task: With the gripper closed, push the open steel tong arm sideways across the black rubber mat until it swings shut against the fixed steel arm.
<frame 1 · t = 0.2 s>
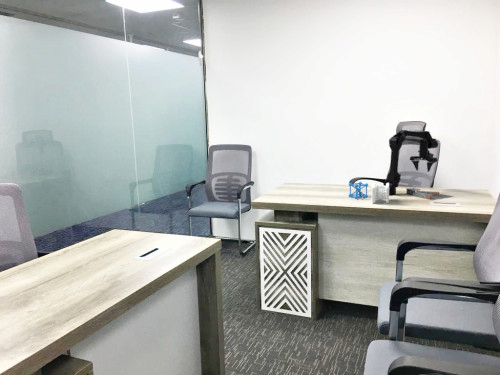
hand: (422, 171, 287), 14 cm above the table, tool pointing down, fingers open, 9 cm apart
desk mat: (427, 196, 273), on the table
molecular structure: (358, 197, 277), on the table
tong arm: (427, 193, 273), point 2 cm above the table, hinge at 35.0°
tong base: (413, 194, 276), resting on desk mat
cable organizer: (380, 202, 260), on the table
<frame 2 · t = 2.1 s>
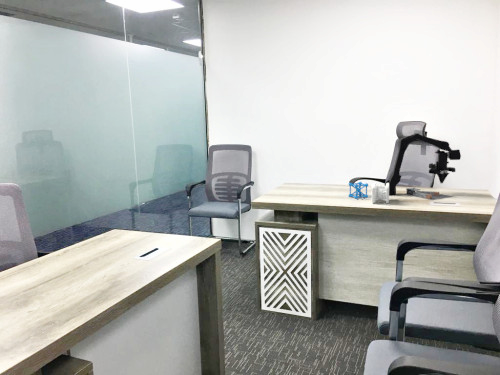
hand: (441, 183, 273), 8 cm above the table, tool pointing down, fingers closed
nothing on the table moved.
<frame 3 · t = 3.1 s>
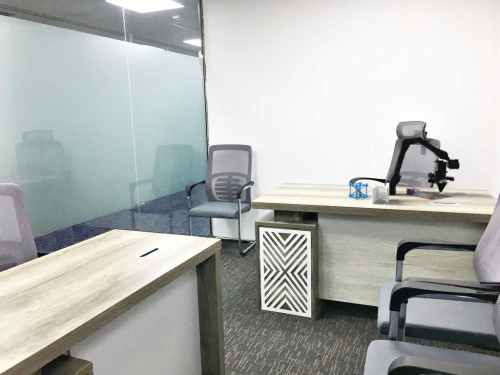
hand: (440, 192, 274), 2 cm above the table, tool pointing down, fingers closed
nothing on the table moved.
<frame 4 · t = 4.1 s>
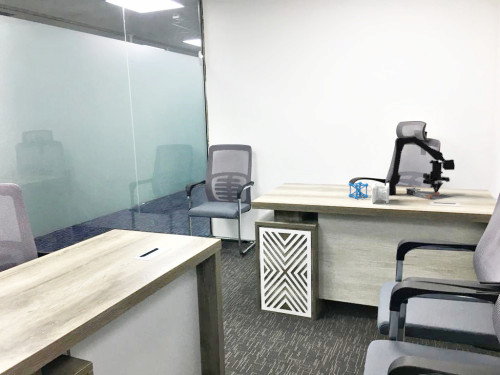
hand: (435, 193, 272), 2 cm above the table, tool pointing down, fingers closed
tong arm: (427, 193, 273), point 2 cm above the table, hinge at 34.3°, touching gripper
everything else where it was.
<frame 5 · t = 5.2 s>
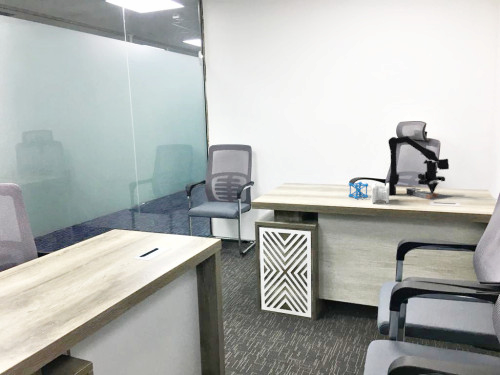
hand: (432, 193, 269), 3 cm above the table, tool pointing down, fingers closed
tong arm: (427, 194, 270), point 2 cm above the table, hinge at 14.5°, touching gripper
everything else where it was.
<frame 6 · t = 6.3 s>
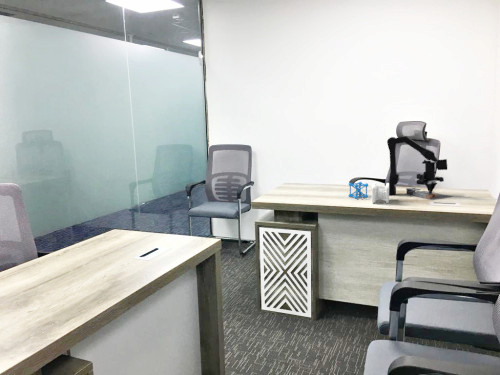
hand: (430, 193, 268), 2 cm above the table, tool pointing down, fingers closed
tong arm: (426, 194, 269), point 2 cm above the table, hinge at 6.1°, touching gripper
everything else where it was.
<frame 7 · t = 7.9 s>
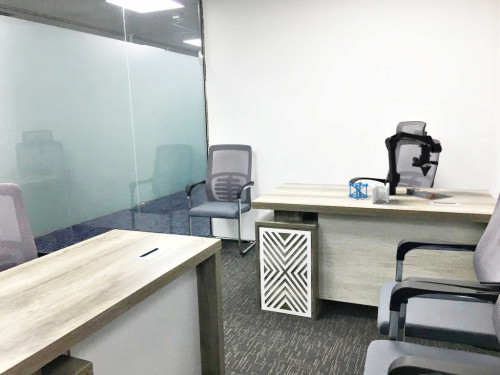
hand: (424, 176, 280), 12 cm above the table, tool pointing down, fingers closed
tong arm: (426, 194, 269), point 2 cm above the table, hinge at 6.1°
everything else where it was.
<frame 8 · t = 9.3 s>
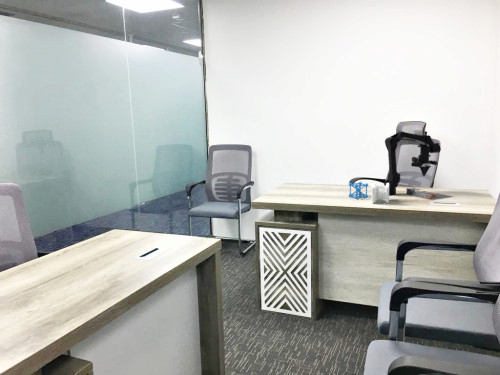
hand: (423, 176, 282), 12 cm above the table, tool pointing down, fingers closed
nothing on the table moved.
at the end: tong arm at +6° (first picture: +35°); cable organizer moved 0.3 cm from its start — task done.
